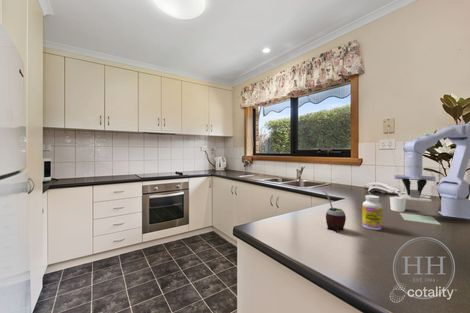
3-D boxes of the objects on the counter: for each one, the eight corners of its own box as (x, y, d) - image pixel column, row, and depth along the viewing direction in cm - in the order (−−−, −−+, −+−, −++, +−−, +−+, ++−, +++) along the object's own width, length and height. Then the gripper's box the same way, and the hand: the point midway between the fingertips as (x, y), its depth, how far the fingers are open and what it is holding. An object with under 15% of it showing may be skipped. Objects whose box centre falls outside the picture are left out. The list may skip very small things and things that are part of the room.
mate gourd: (348, 233, 78) (348, 194, 77) (325, 232, 79) (326, 193, 79) (342, 226, 85) (342, 190, 85) (321, 225, 87) (321, 189, 86)
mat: (432, 217, 96) (432, 216, 96) (441, 225, 86) (441, 224, 86) (399, 213, 102) (399, 212, 102) (404, 220, 92) (404, 219, 92)
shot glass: (409, 213, 104) (409, 199, 104) (395, 212, 104) (396, 199, 104) (399, 209, 111) (399, 196, 111) (386, 209, 111) (386, 196, 111)
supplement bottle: (362, 228, 83) (363, 197, 82) (361, 223, 89) (361, 194, 88) (383, 231, 80) (383, 198, 79) (380, 226, 85) (380, 195, 85)
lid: (424, 197, 99) (424, 189, 99) (431, 201, 90) (431, 193, 90) (398, 195, 104) (398, 188, 104) (402, 199, 95) (402, 191, 95)
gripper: (396, 166, 97) (395, 195, 97) (438, 167, 90) (437, 198, 90) (393, 165, 103) (393, 192, 103) (432, 166, 96) (432, 195, 96)
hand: (413, 195), depth 97 cm, fingers closed on lid, 3 cm apart
